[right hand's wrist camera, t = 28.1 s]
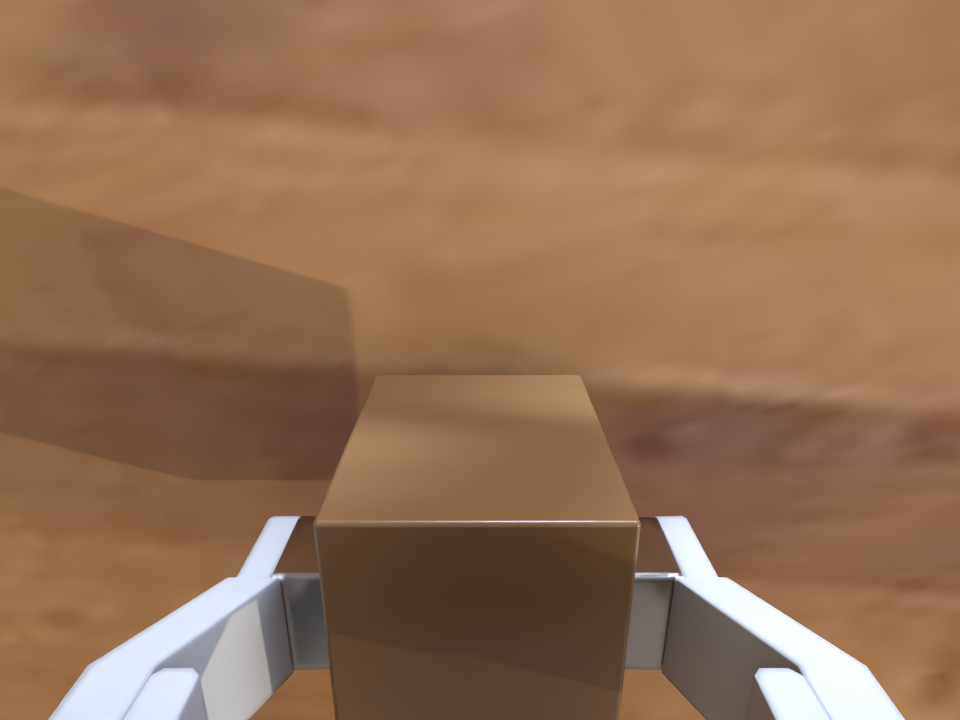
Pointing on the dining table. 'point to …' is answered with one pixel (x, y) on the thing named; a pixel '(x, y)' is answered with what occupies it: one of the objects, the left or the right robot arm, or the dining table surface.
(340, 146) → the dining table surface
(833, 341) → the dining table surface
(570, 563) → the block
